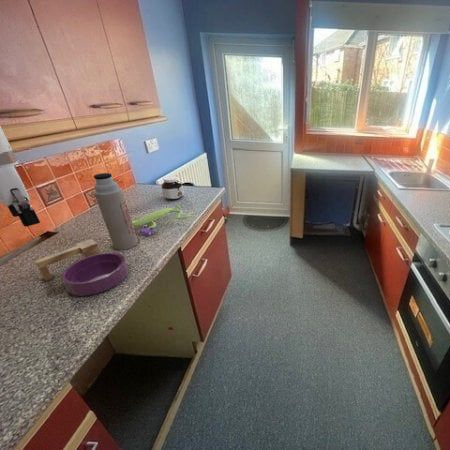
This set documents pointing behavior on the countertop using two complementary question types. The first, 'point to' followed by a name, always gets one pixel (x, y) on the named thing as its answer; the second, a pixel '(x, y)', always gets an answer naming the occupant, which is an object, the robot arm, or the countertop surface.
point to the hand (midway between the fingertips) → (26, 219)
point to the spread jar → (172, 188)
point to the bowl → (95, 274)
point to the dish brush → (67, 256)
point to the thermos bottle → (114, 212)
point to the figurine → (154, 217)
